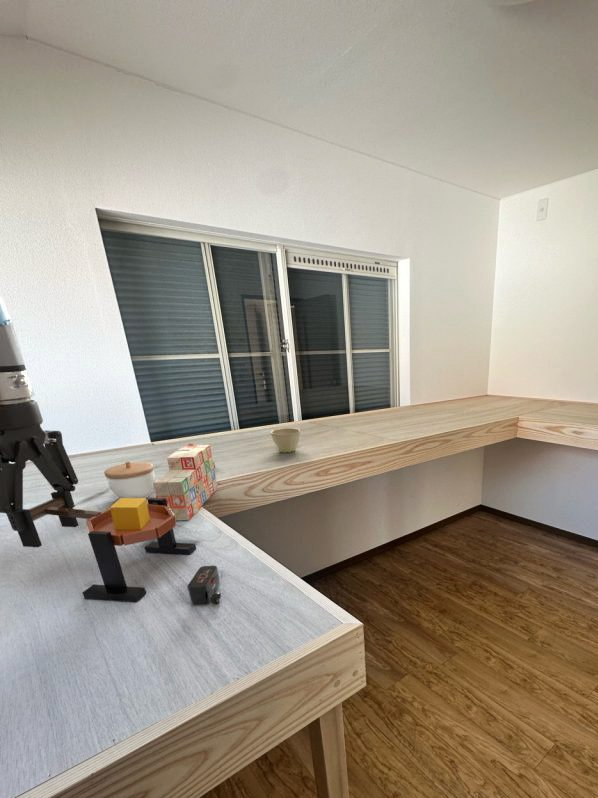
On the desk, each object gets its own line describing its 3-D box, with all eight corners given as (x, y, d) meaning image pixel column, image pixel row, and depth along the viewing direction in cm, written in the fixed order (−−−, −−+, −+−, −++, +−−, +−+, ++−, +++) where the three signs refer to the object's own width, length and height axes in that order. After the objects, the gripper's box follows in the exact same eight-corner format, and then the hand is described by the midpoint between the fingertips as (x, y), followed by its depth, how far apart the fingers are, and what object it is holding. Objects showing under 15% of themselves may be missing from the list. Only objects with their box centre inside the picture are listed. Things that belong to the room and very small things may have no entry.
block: (114, 529, 67) (109, 507, 66) (124, 519, 71) (120, 497, 69) (141, 529, 68) (136, 507, 66) (150, 519, 72) (146, 497, 70)
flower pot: (277, 447, 153) (275, 428, 150) (304, 447, 153) (302, 428, 150) (269, 454, 144) (267, 434, 141) (298, 454, 143) (296, 434, 141)
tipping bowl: (4, 533, 65) (-1, 519, 64) (70, 503, 77) (67, 490, 76) (143, 550, 63) (140, 535, 62) (188, 516, 75) (187, 503, 74)
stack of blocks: (189, 521, 93) (178, 468, 88) (160, 522, 92) (148, 469, 88) (218, 488, 112) (210, 443, 108) (194, 489, 112) (185, 444, 107)
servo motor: (188, 608, 63) (184, 590, 62) (204, 582, 69) (200, 566, 68) (219, 607, 63) (215, 589, 62) (232, 581, 70) (229, 565, 68)
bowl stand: (84, 598, 66) (62, 536, 61) (153, 546, 82) (139, 494, 77) (136, 602, 65) (118, 539, 60) (196, 548, 81) (185, 496, 76)
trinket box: (108, 496, 107) (98, 461, 104) (153, 487, 114) (145, 453, 110) (117, 508, 100) (106, 471, 96) (164, 497, 106) (156, 462, 103)
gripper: (-43, 413, 54) (19, 566, 63) (78, 392, 72) (113, 513, 81) (-93, 411, 55) (-25, 563, 64) (39, 392, 73) (77, 512, 82)
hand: (52, 535), depth 72 cm, fingers closed on tipping bowl, 7 cm apart
